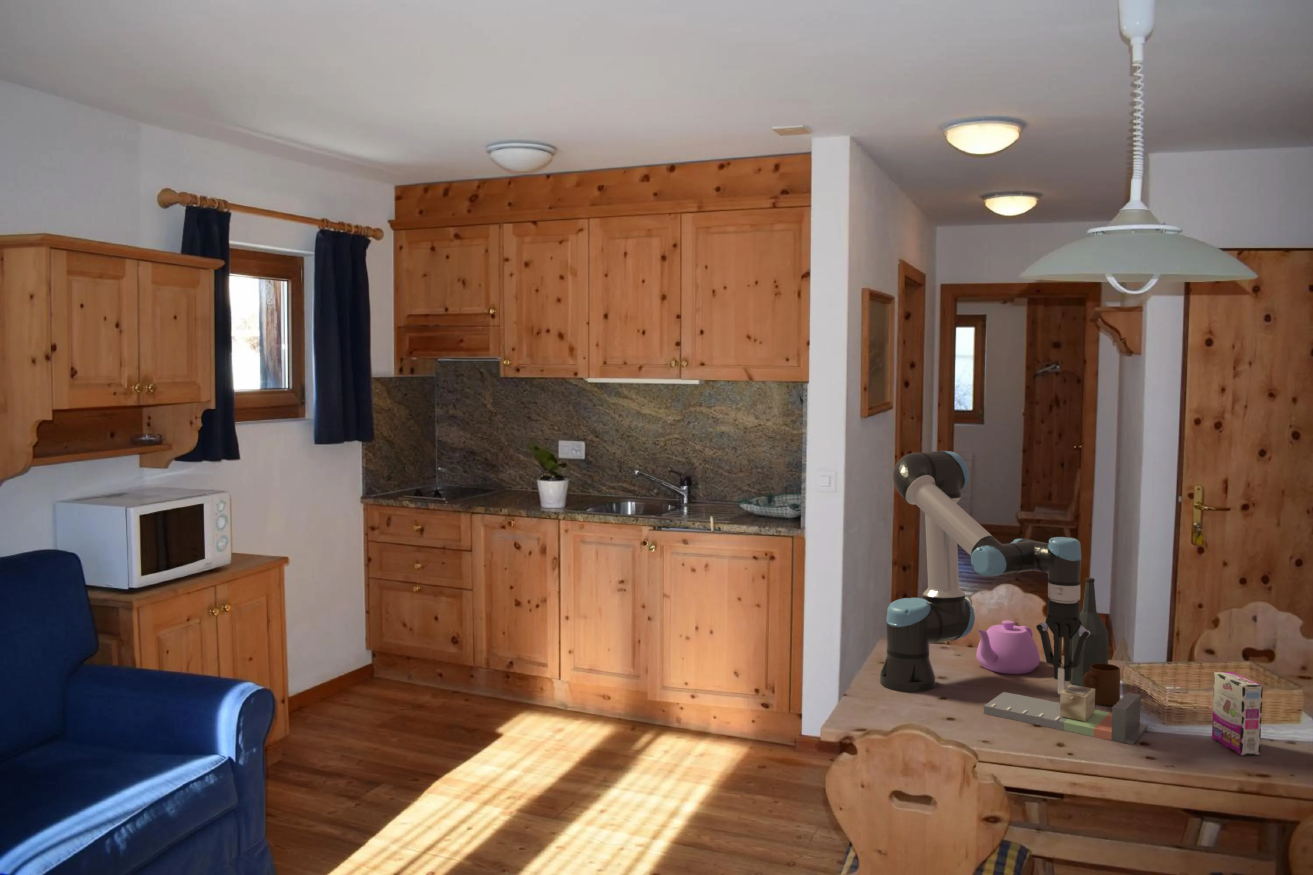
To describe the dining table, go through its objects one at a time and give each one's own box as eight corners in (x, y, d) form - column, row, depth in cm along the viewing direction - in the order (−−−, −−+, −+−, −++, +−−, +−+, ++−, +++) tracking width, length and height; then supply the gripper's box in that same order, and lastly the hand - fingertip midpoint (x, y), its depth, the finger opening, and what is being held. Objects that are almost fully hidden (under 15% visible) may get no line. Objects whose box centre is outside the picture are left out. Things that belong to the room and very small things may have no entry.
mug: (1096, 711, 264) (1097, 675, 263) (1071, 702, 271) (1072, 668, 270) (1126, 703, 270) (1126, 668, 269) (1100, 695, 277) (1101, 661, 276)
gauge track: (983, 713, 263) (983, 704, 263) (1003, 699, 274) (1003, 690, 274) (1111, 740, 244) (1111, 730, 244) (1127, 723, 255) (1127, 714, 255)
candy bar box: (1261, 755, 234) (1264, 685, 233) (1241, 756, 233) (1243, 685, 232) (1230, 737, 245) (1232, 670, 244) (1210, 738, 244) (1212, 671, 243)
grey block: (1111, 740, 244) (1112, 707, 243) (1127, 723, 255) (1127, 692, 254) (1132, 744, 241) (1133, 711, 240) (1147, 727, 252) (1148, 695, 251)
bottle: (1090, 677, 293) (1092, 573, 290) (1115, 687, 283) (1118, 580, 281) (1060, 680, 289) (1062, 575, 287) (1084, 691, 280) (1087, 582, 278)
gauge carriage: (1057, 718, 252) (1057, 693, 252) (1069, 707, 260) (1070, 683, 260) (1082, 723, 249) (1083, 698, 248) (1094, 712, 257) (1095, 687, 256)
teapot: (1006, 653, 317) (1007, 609, 316) (1057, 667, 303) (1058, 621, 302) (953, 667, 303) (953, 622, 302) (1004, 682, 288) (1004, 634, 287)
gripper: (1032, 599, 257) (1031, 691, 258) (1086, 606, 249) (1084, 701, 250) (1042, 593, 263) (1040, 684, 264) (1095, 600, 254) (1093, 693, 256)
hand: (1062, 692), depth 257 cm, fingers closed
